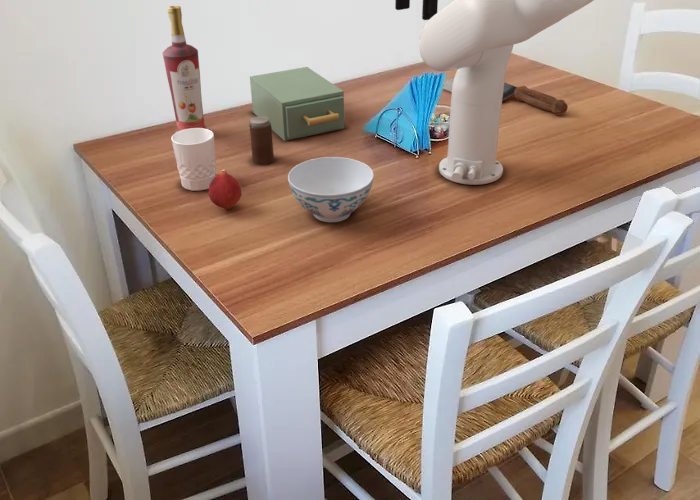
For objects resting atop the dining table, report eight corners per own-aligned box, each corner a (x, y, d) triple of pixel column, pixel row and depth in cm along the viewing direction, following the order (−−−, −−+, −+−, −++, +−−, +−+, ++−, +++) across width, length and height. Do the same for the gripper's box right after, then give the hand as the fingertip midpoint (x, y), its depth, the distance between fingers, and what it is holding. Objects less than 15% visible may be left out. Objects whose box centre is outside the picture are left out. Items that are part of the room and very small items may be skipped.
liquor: (181, 144, 156) (161, 13, 141) (171, 133, 161) (151, 5, 146) (213, 137, 158) (196, 8, 144) (202, 126, 164) (185, 1, 149)
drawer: (353, 133, 157) (352, 103, 153) (296, 145, 152) (295, 115, 148) (310, 101, 174) (309, 73, 171) (258, 111, 169) (255, 82, 166)
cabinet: (344, 128, 162) (343, 91, 157) (284, 141, 156) (281, 102, 152) (308, 101, 177) (307, 66, 172) (252, 112, 171) (249, 76, 167)
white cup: (183, 195, 135) (175, 147, 130) (175, 178, 141) (167, 131, 136) (223, 188, 138) (217, 140, 132) (214, 171, 144) (208, 125, 138)
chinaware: (279, 203, 132) (276, 166, 128) (353, 187, 137) (352, 151, 133) (308, 242, 120) (306, 201, 116) (387, 223, 125) (388, 183, 121)
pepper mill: (268, 165, 146) (265, 124, 141) (249, 163, 147) (245, 122, 142) (277, 157, 149) (274, 116, 144) (258, 154, 150) (254, 114, 146)
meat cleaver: (436, 86, 185) (437, 71, 182) (468, 77, 190) (469, 62, 188) (535, 127, 162) (537, 110, 159) (568, 115, 167) (571, 99, 165)
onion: (211, 218, 127) (206, 178, 123) (210, 203, 132) (205, 164, 128) (244, 215, 128) (239, 175, 124) (242, 200, 133) (237, 161, 129)
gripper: (377, -82, 139) (377, 7, 149) (428, -72, 127) (424, 26, 136) (409, -85, 143) (407, 3, 152) (462, -75, 130) (456, 20, 139)
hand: (415, 13), depth 144 cm, fingers open, 9 cm apart
